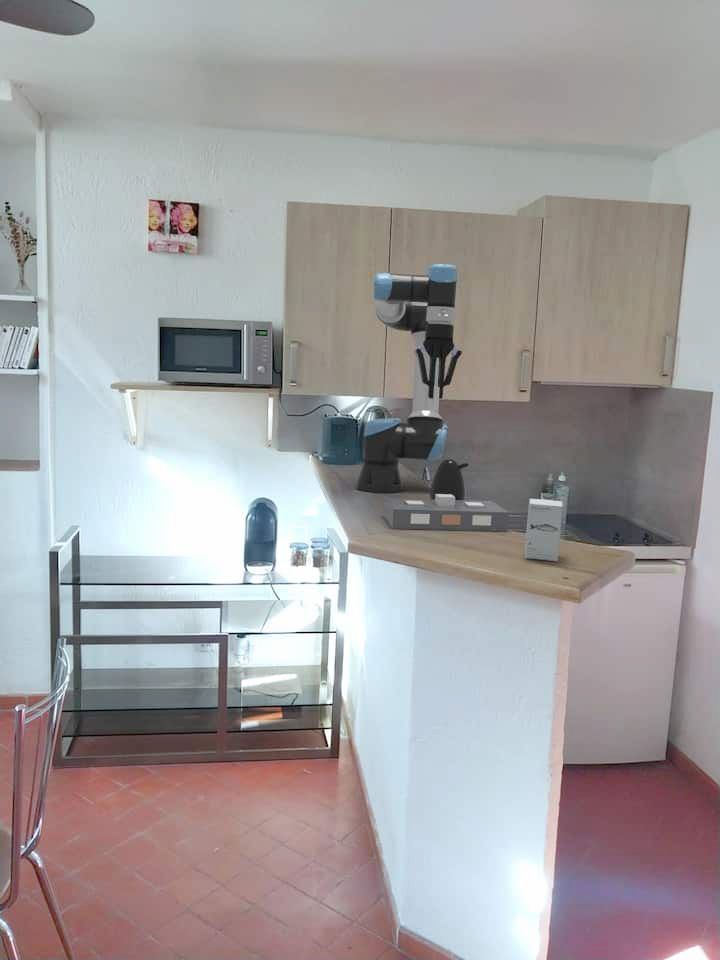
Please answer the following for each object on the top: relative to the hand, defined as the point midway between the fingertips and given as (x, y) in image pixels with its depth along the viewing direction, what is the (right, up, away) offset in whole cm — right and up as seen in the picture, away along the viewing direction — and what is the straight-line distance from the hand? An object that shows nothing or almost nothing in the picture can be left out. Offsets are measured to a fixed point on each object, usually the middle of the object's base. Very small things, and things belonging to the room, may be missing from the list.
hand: (434, 410), depth 218 cm
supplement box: (+20, -37, -40) cm, 58 cm away
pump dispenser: (+5, -28, +10) cm, 30 cm away
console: (+2, -31, -8) cm, 32 cm away
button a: (-6, -29, -9) cm, 31 cm away
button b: (+2, -28, -9) cm, 29 cm away
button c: (+10, -30, -7) cm, 32 cm away
